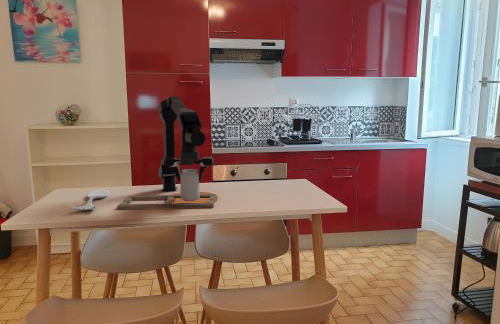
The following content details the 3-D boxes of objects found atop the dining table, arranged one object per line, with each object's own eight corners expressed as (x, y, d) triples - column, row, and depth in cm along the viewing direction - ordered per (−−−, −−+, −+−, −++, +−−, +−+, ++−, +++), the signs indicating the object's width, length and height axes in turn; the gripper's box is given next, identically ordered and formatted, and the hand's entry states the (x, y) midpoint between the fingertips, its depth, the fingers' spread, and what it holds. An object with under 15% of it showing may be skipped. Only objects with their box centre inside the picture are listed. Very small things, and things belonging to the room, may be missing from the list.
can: (201, 197, 159) (201, 168, 157) (197, 202, 151) (196, 171, 149) (183, 197, 159) (182, 168, 158) (178, 201, 152) (177, 171, 150)
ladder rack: (129, 199, 162) (128, 195, 162) (215, 197, 164) (215, 194, 163) (117, 209, 147) (117, 205, 146) (213, 207, 148) (213, 204, 148)
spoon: (70, 215, 140) (69, 206, 139) (90, 195, 171) (89, 187, 171) (97, 214, 142) (96, 205, 141) (111, 194, 173) (111, 186, 172)
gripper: (160, 146, 144) (162, 187, 146) (211, 145, 144) (212, 186, 147) (166, 143, 155) (167, 181, 157) (213, 142, 155) (213, 181, 158)
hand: (189, 182), depth 154 cm, fingers closed on can, 7 cm apart
